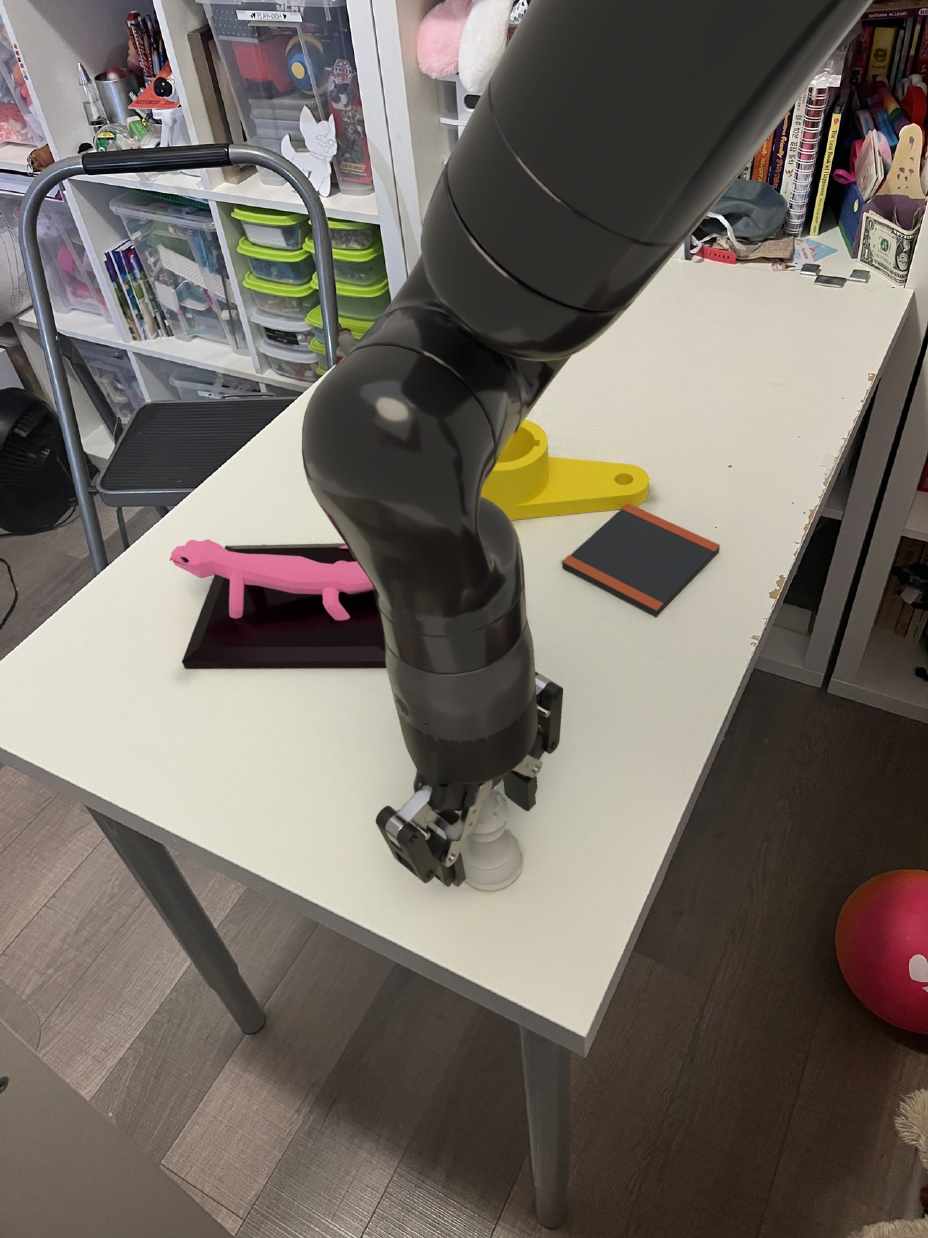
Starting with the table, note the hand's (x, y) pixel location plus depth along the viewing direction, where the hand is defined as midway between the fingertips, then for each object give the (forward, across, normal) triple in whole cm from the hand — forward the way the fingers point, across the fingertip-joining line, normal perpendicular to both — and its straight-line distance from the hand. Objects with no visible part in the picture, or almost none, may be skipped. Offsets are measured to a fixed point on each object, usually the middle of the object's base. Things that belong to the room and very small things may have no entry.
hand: (486, 836), depth 58 cm
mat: (+4, +31, +9) cm, 32 cm away
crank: (+4, +34, +21) cm, 40 cm away
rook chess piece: (+4, 0, 0) cm, 4 cm away
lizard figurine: (+4, +8, +30) cm, 31 cm away
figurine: (+4, +27, +41) cm, 49 cm away
